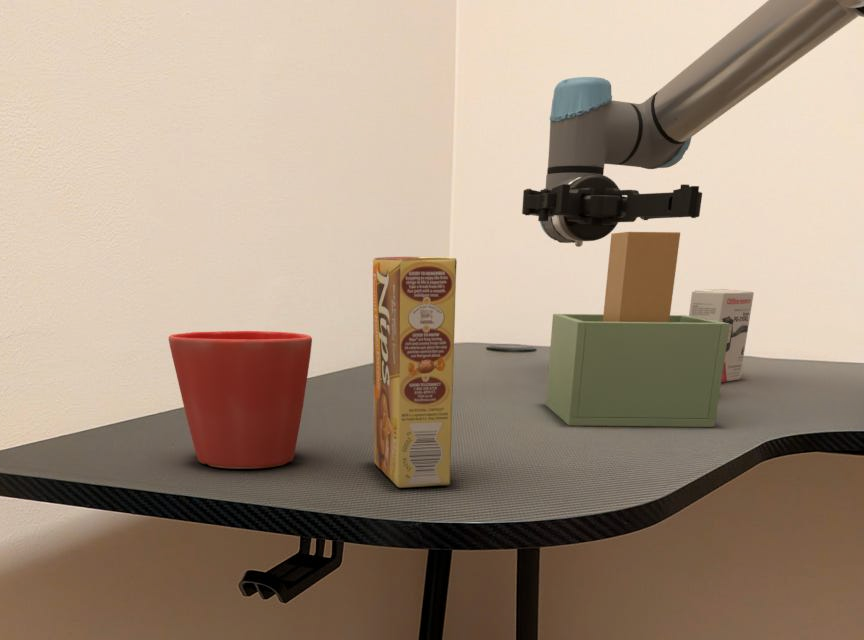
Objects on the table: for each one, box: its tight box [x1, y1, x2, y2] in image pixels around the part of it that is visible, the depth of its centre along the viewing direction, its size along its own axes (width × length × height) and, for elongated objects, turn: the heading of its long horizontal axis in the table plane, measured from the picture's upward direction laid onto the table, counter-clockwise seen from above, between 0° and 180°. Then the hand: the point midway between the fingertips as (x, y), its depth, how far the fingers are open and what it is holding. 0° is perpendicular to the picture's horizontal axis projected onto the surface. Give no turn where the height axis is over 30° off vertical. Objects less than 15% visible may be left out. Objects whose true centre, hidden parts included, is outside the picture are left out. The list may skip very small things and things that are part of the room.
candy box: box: [372, 256, 458, 489], centre depth 66 cm, size 9×4×15 cm, turn 13°
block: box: [603, 231, 681, 322], centre depth 93 cm, size 5×7×17 cm
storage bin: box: [545, 313, 730, 428], centre depth 95 cm, size 15×14×10 cm
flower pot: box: [168, 330, 313, 470], centre depth 72 cm, size 11×11×10 cm
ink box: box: [688, 288, 754, 383], centre depth 124 cm, size 8×5×12 cm, turn 134°
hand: (629, 199), depth 96 cm, fingers open, 13 cm apart
